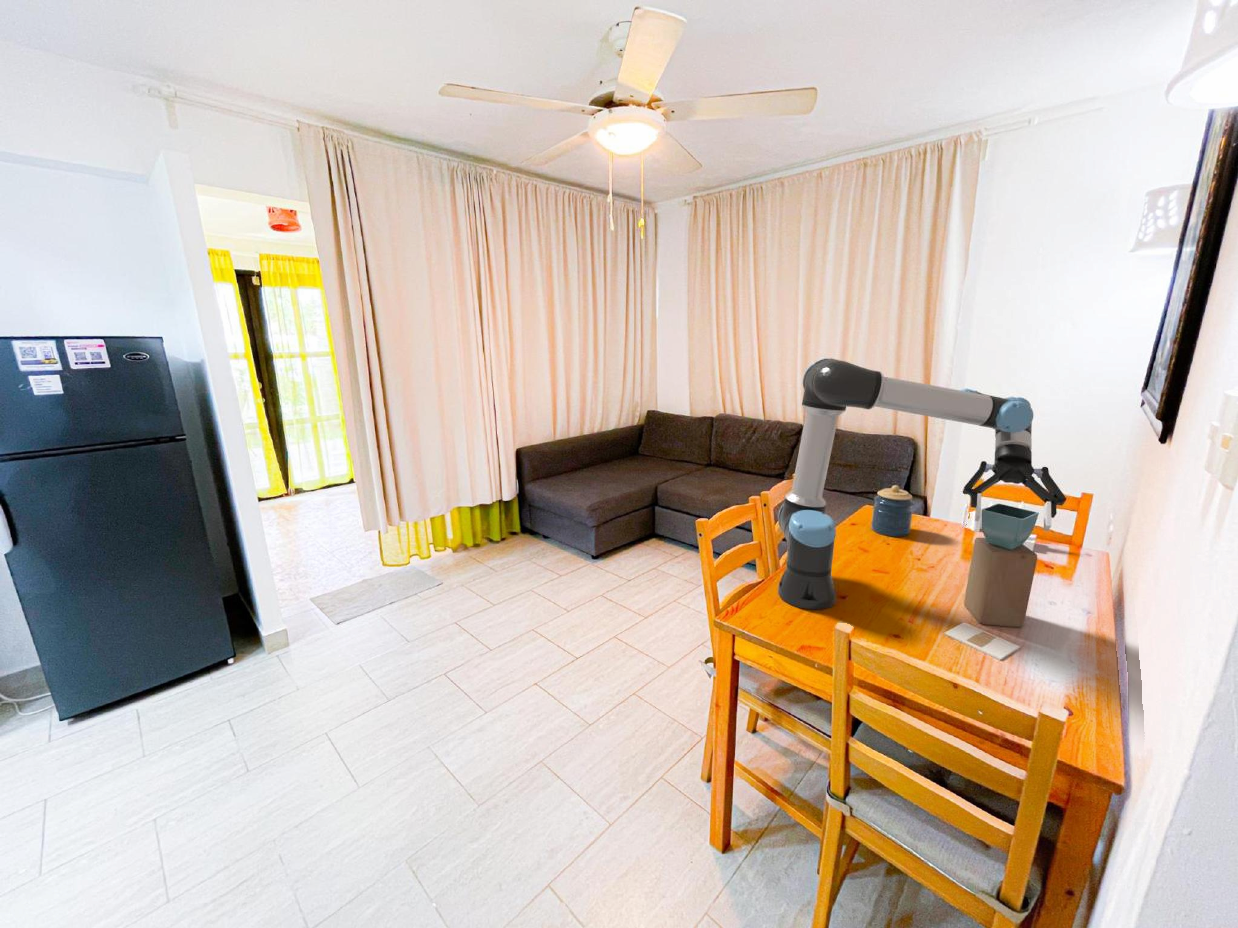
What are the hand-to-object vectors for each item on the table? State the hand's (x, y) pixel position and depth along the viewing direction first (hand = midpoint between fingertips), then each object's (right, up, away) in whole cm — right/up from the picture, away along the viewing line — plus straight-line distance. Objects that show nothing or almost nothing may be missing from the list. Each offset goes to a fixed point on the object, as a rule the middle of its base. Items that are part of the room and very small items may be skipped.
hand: (1011, 523), depth 122 cm
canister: (+6, -11, +66) cm, 67 cm away
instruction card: (-9, -28, -2) cm, 29 cm away
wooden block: (+1, -25, +8) cm, 27 cm away
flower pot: (+1, -6, +3) cm, 7 cm away
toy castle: (+43, -12, +60) cm, 75 cm away
